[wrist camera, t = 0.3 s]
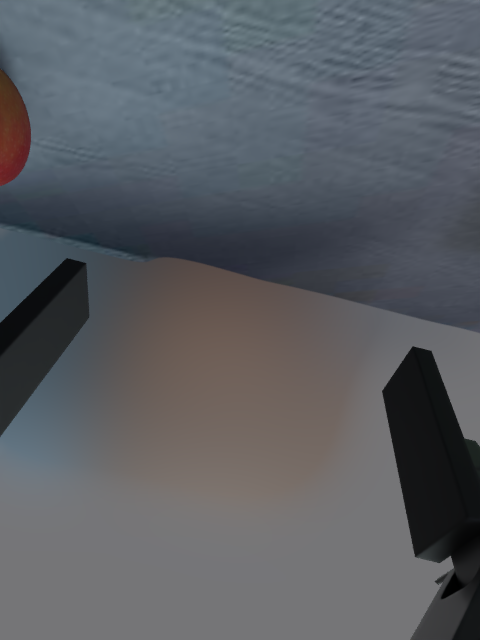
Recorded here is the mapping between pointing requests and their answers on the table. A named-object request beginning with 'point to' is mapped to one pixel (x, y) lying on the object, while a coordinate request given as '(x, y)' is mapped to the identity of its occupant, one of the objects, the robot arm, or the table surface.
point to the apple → (12, 131)
